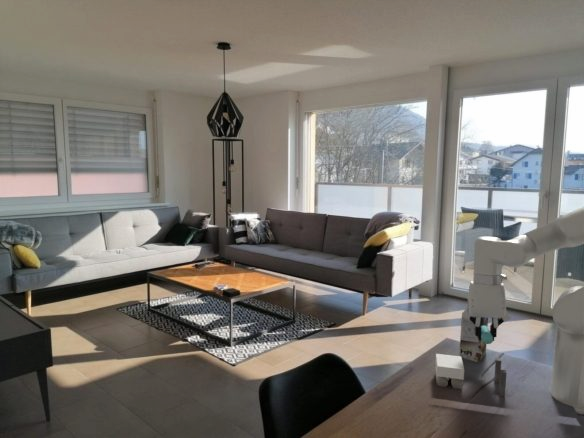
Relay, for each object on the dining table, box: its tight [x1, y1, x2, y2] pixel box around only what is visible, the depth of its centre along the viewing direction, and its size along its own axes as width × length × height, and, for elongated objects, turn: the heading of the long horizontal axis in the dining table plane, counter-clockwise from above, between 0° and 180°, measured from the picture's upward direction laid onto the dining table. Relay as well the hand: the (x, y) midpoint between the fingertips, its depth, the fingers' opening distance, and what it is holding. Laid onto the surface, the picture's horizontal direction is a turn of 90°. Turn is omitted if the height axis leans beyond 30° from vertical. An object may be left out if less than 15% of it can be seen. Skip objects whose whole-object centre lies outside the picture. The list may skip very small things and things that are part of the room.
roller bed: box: [434, 357, 507, 397], centre depth 122 cm, size 18×9×8 cm, turn 74°
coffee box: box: [458, 312, 489, 363], centre depth 139 cm, size 9×6×16 cm
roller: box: [481, 326, 494, 345], centre depth 128 cm, size 7×3×3 cm, turn 164°
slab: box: [434, 353, 465, 381], centre depth 123 cm, size 7×8×3 cm
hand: (485, 338), depth 128 cm, fingers closed on roller, 3 cm apart
